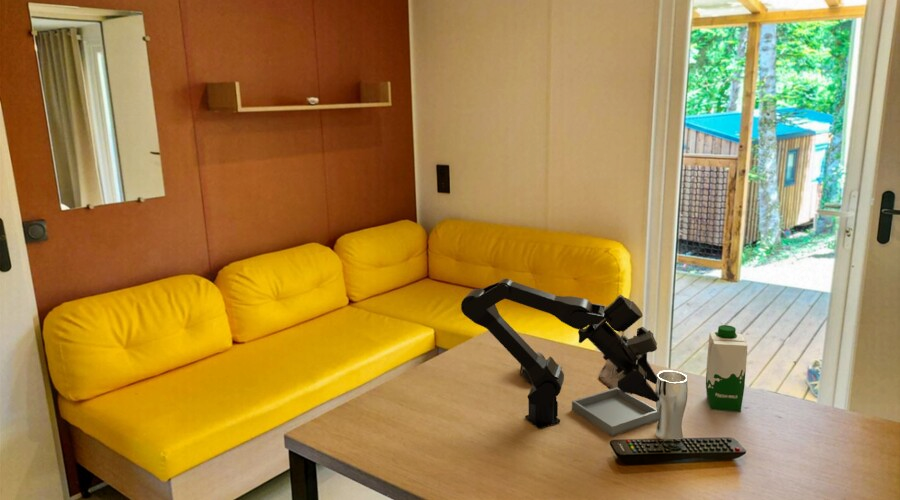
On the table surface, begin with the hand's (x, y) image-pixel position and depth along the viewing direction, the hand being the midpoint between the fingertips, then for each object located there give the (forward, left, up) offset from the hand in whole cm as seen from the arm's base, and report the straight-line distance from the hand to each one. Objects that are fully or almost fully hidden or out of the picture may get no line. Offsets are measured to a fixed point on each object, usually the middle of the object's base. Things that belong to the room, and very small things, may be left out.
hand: (658, 391), depth 146 cm
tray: (-2, +12, -11) cm, 16 cm away
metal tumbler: (+2, -2, -11) cm, 12 cm away
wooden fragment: (+14, +29, -11) cm, 34 cm away
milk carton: (+25, +2, -11) cm, 27 cm away
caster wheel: (-6, +40, -11) cm, 42 cm away
